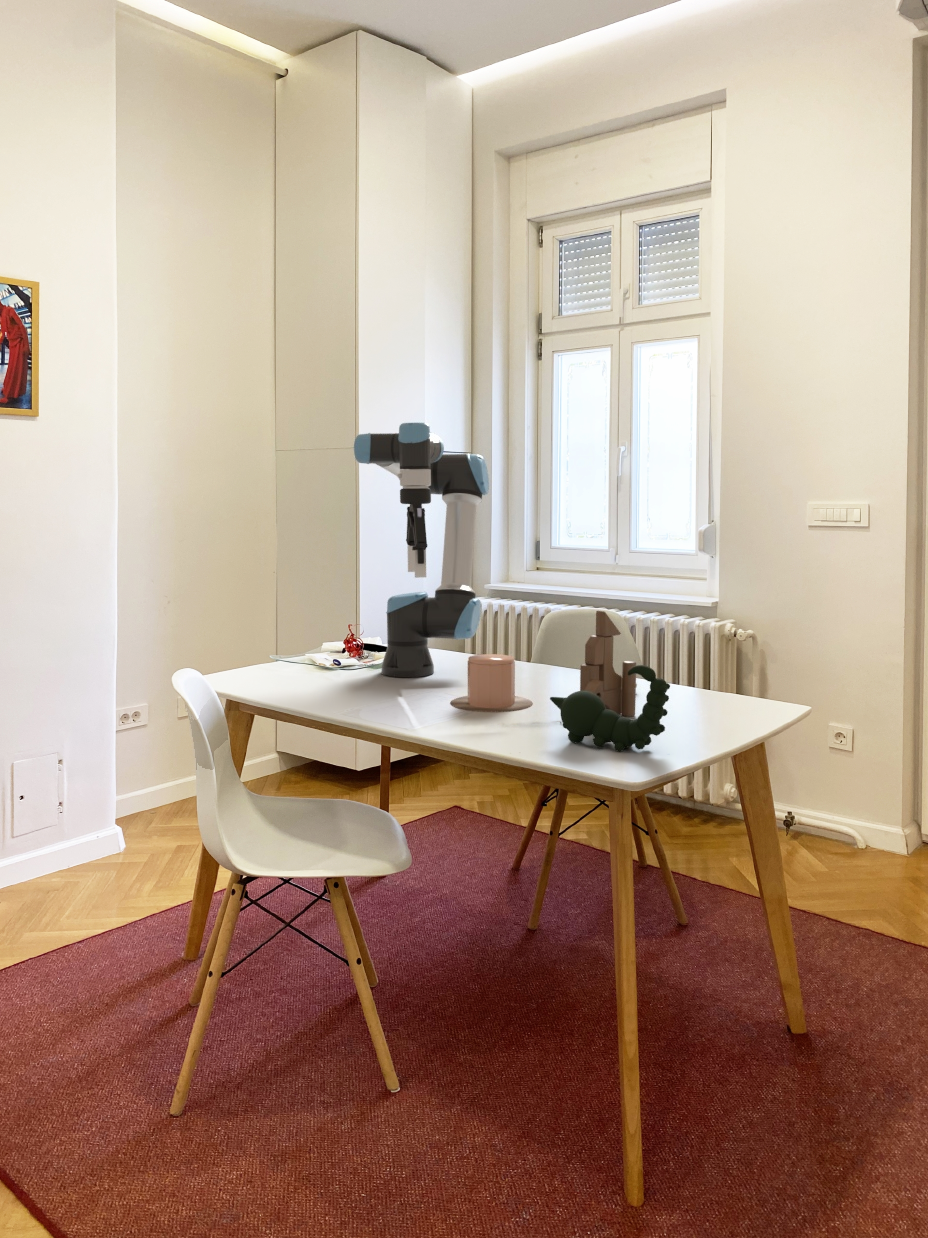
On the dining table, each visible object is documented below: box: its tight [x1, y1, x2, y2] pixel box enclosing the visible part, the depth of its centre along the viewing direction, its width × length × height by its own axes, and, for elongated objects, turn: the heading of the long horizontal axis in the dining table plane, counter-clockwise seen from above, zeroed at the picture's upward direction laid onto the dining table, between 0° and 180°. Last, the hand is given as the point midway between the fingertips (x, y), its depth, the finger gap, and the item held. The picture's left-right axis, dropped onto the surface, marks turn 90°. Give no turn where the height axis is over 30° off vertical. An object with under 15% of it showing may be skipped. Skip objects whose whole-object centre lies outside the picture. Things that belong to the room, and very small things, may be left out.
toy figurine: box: [549, 664, 671, 753], centre depth 197 cm, size 9×19×25 cm
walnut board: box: [449, 695, 534, 713], centre depth 232 cm, size 20×20×2 cm
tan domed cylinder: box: [467, 653, 516, 708], centre depth 231 cm, size 11×11×11 cm
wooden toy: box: [579, 610, 637, 718], centre depth 221 cm, size 15×7×25 cm, turn 130°
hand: (416, 574), depth 236 cm, fingers open, 13 cm apart
